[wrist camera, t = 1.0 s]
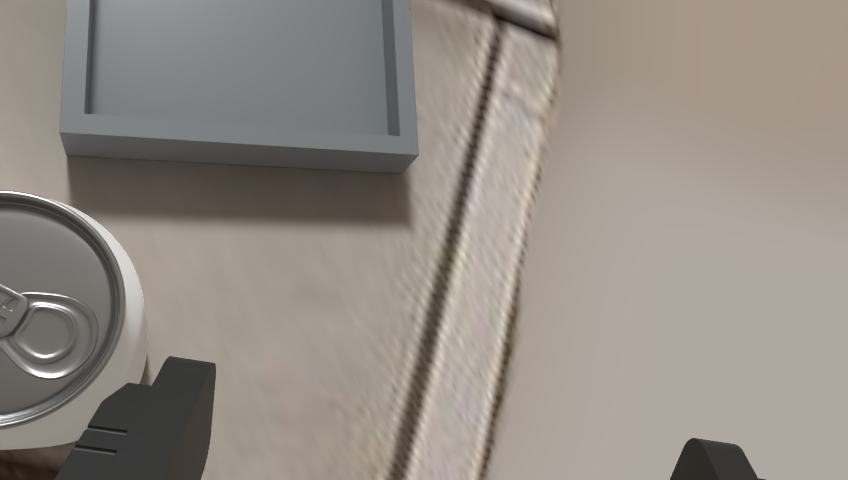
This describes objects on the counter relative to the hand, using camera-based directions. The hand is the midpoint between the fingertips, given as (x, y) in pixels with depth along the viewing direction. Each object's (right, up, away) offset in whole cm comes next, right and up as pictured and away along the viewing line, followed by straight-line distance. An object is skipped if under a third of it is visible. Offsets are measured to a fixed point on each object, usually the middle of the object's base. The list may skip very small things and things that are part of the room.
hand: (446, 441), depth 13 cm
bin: (-8, +13, +21) cm, 27 cm away
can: (-14, -1, +16) cm, 21 cm away
